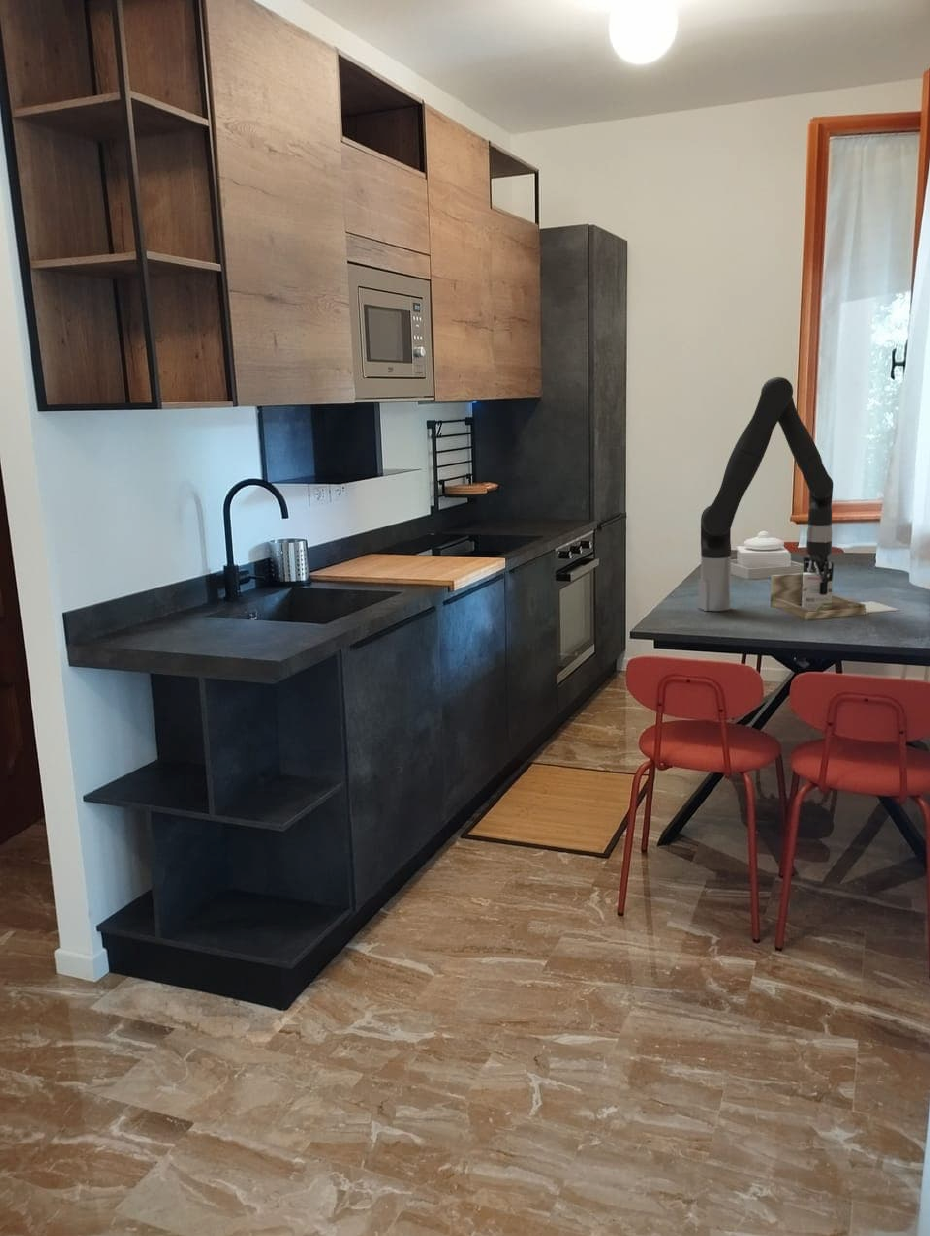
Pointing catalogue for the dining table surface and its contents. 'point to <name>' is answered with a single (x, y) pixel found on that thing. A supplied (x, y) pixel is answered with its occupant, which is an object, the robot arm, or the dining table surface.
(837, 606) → the walnut offcut
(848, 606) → the maple offcut
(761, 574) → the square grey tray
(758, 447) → the robot arm
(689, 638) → the dining table surface
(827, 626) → the dining table surface
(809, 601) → the ink box
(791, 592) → the rack
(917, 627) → the dining table surface
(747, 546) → the white lidded dish
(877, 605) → the felt mat
